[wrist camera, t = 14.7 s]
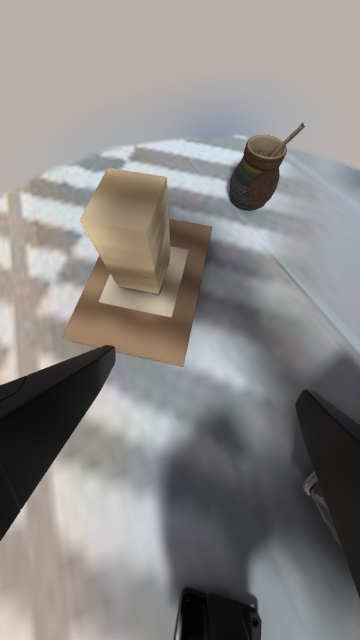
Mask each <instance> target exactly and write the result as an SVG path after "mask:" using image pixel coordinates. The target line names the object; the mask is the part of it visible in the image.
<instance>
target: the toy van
mask: <svg viewBox="0 0 360 640" xmlns="http://www.w3.org/2000/svg"><path fill="white" fill-rule="evenodd" d="M303 488H304V490H305V492H306V493H307V494H308V496H312V498H313V500H314V502H315V504H316V506H317V507H318V509H319V511H320V514H321V516H322V518H323V521H324V522H325V524H326V525H327V526H328V527H329V528H330V530H331V533H332V535H333V538H334V539H335V540H336V541H337V542H338V544H339V545H340V546H341V544H340V541H339V538H338V535H337V533H336V530H335V527H334V524H333V521H332V519H331V516H330V513H329V510H328V507H327V504H326V502H325V499H324V496H323V493H322V490H321V488H320V485H319V482H318V479H317V476H316V473H315V471H314V472H313V473H312V474H310V475H309V476H308V477H307V479H306V480H305V481H304V483H303ZM309 489H310V492H309ZM310 493H311V494H310Z"/></svg>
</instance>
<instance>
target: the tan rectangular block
mask: <svg viewBox="0 0 360 640" xmlns="http://www.w3.org/2000/svg"><path fill="white" fill-rule="evenodd" d="M79 221H80V223H81V225H82V226H83V228H84V230H85V231H86V233H87V235H88V236H89V238H90V240H91V242H92V243H93V245H94V247H95V248H96V250H97V252H98V253H99V255H100V257H101V258H102V260H103V262H104V264H105V265H106V267H107V269H108V270H109V272H110V274H111V275H112V277H113V279H114V281H115V282H116V284H117V286H119V287H121V288H126V289H131V290H136V291H141V292H146V293H151V294H156V295H159V294H160V292H161V289H162V282H163V278H164V275H165V271H166V268H167V267H168V264H169V259H170V254H171V250H170V231H169V213H168V194H167V177H163V176H157V175H150V174H144V173H138V172H131V171H125V170H118V169H112V168H108V169H107V171H106V172H105V174H104V176H103V178H102V180H101V182H100V183H99V185H98V187H97V189H96V191H95V193H94V194H93V196H92V198H91V200H90V202H89V204H88V205H87V207H86V209H85V211H84V213H83V215H82V216H81V218H80V220H79Z"/></svg>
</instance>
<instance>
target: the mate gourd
mask: <svg viewBox="0 0 360 640" xmlns="http://www.w3.org/2000/svg"><path fill="white" fill-rule="evenodd" d="M304 127H305V126H304V124H303V123H302V124H301V125H300V126H299V127H298V129H297V130H295V131H294V132H293V133H292V134H291V135H290V136H289V137H288V138H287V139H286V140H285V141H283V142H282V141H281V140H280V139H278V138H276V137H273V136H270V135H257V136H254V137H252V138H250V139H249V140H248V141H247V143H246V147H245V150H244V156H243V158H242V160H241V162H240V163H239V164H238V166H237V167H236V169H235V170H234V172H233V174H232V177H231V180H230V197H231V200H232V202H233V203H234V204H235V205H236V206H237V207H238V208H240V209H242V210H248V211H249V210H256V209H259V208H261V207H262V206H264V205H265V203H266V202H267V201H268V200H269V199H270V198H271V197H272V195H273V193H274V192H275V190H276V187H277V184H278V181H279V166H280V165H281V163H282V161H283V159H284V156H285V155H286V152H287V148H286V146H285V145H286V144H287V143H288V142H289V141H290V140H292V138H294V137H295V136H296V135H297V134H298V133H299V132H300V131H301V130H302V129H303V128H304Z"/></svg>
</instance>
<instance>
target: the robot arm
mask: <svg viewBox="0 0 360 640" xmlns="http://www.w3.org/2000/svg"><path fill="white" fill-rule="evenodd" d="M114 364H115V347H114V346H111V345H104V346H102V347H99V348H97V349H94V350H91V351H89V352H86V353H84V354H81V355H78V356H76V357H73V358H71V359H68V360H66V361H63V362H60V363H58V364H55V365H53V366H50V367H47V368H45V369H42V370H40V371H37V372H34V373H32V374H29V375H28V376H24V377H21V378H19V379H16V380H14V381H11V382H8V383H5V384H3V385H0V541H1V540H2V538H3V537H4V535H5V534H6V532H7V531H8V529H9V528H10V526H11V525H12V523H13V522H14V520H15V519H16V517H17V516H18V514H19V513H20V511H21V510H20V509H22V508H23V506H24V505H25V503H26V502H27V500H28V499H29V497H30V496H31V494H32V493H33V491H34V490H35V488H36V487H37V485H38V484H39V482H40V481H41V479H42V478H43V476H44V475H45V473H46V472H47V470H48V469H49V467H50V466H51V464H52V463H53V461H54V460H55V458H56V457H57V455H58V454H59V452H60V451H61V449H62V448H63V446H64V445H65V443H66V442H67V440H68V439H69V437H70V436H71V434H72V433H73V431H74V430H75V428H76V427H77V425H78V424H79V422H80V421H81V419H82V418H83V416H84V415H85V414H86V412H87V411H88V409H89V408H90V406H91V405H92V403H93V402H94V400H95V399H96V397H97V395H98V394H99V392H100V391H101V389H102V387H103V385H104V383H105V381H106V379H107V377H108V375H109V374H110V372H111V370H112V368H113V366H114ZM295 406H296V411H297V415H298V419H299V423H300V427H301V431H302V435H303V438H304V442H305V445H306V448H307V451H308V454H309V457H310V459H311V462H312V465H313V468H314V471H315V473H316V476H317V479H318V482H319V485H320V488H321V490H322V493H323V496H324V499H325V502H326V504H327V507H328V510H329V513H330V516H331V519H332V521H333V524H334V527H335V530H336V533H337V535H338V538H339V541H340V544H341V547H342V550H343V552H344V555H345V558H346V561H347V564H348V566H349V569H350V572H351V575H352V578H353V581H354V583H355V586H356V589H357V592H358V595H359V597H360V425H359V424H357V423H356V422H355V421H353V420H352V419H351V418H349V417H348V416H347V415H345V414H344V413H343V412H341V411H340V410H339V409H337V408H336V407H335V406H333V405H332V404H331V403H329V402H328V401H327V400H325V399H324V398H323V397H321V396H320V395H319V394H317V393H316V392H314V391H311V390H303V391H302V393H301V394H300V396H299V398H298V399H297V401H296V404H295ZM186 597H189V598H190V600H189V601H186V600H185V598H186ZM253 618H256V620H255V621H252V619H253ZM175 640H261V619H260V616H259V614H258V611H257V610H256V609H255V608H253V607H249V606H246V605H243V604H239V603H238V602H237V601H233V600H230V599H227V598H223V597H220V596H217V595H214V594H210V593H209V594H207V593H203V592H200V591H197V590H194V589H190V588H185V589H184V590H183V591H182V595H181V602H180V608H179V615H178V622H177V629H176V635H175Z"/></svg>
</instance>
